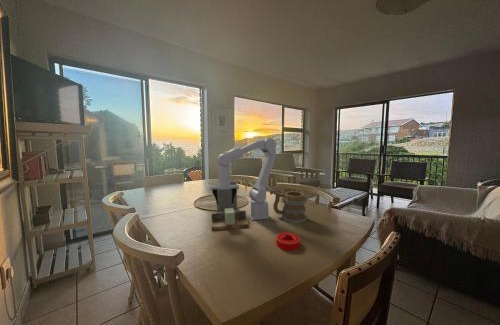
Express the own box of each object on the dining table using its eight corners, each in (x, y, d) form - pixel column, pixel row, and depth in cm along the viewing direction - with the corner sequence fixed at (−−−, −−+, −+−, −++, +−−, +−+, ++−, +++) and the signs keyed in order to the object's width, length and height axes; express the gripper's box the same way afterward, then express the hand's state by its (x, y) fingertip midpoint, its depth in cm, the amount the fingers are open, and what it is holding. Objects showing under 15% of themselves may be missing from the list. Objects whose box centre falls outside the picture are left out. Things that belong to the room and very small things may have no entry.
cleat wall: (245, 219, 110) (245, 210, 109) (248, 226, 100) (248, 217, 99) (211, 222, 106) (211, 212, 106) (211, 230, 97) (211, 220, 96)
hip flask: (220, 216, 115) (219, 181, 113) (215, 214, 117) (214, 180, 115) (238, 208, 127) (237, 177, 125) (233, 207, 130) (232, 176, 128)
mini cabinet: (233, 218, 106) (233, 207, 106) (235, 224, 99) (234, 213, 98) (224, 219, 106) (224, 208, 105) (225, 225, 98) (225, 213, 97)
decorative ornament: (299, 252, 77) (299, 244, 77) (274, 249, 80) (274, 241, 80) (300, 240, 86) (300, 233, 86) (278, 237, 89) (278, 230, 89)
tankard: (307, 216, 113) (308, 190, 111) (303, 225, 101) (304, 196, 100) (273, 211, 121) (273, 187, 120) (266, 219, 110) (266, 192, 108)
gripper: (209, 179, 97) (210, 206, 99) (239, 178, 100) (239, 204, 102) (209, 176, 104) (210, 202, 106) (237, 175, 107) (238, 200, 108)
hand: (224, 203), depth 104 cm, fingers open, 7 cm apart
